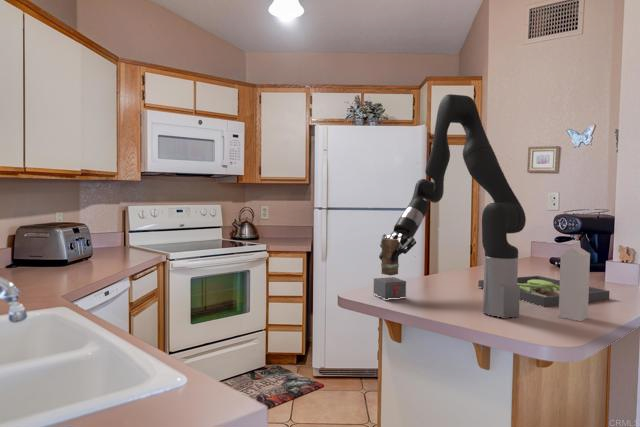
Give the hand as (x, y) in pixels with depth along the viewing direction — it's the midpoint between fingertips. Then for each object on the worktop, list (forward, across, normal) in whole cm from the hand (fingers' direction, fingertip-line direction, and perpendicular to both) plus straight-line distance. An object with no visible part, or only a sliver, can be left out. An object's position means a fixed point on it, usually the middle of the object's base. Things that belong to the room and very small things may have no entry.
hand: (386, 259), depth 152 cm
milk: (-8, +51, +26) cm, 58 cm away
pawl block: (+8, 0, +10) cm, 13 cm away
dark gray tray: (-25, +31, +44) cm, 60 cm away
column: (+2, 0, +5) cm, 5 cm away
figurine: (-24, +32, +43) cm, 58 cm away
